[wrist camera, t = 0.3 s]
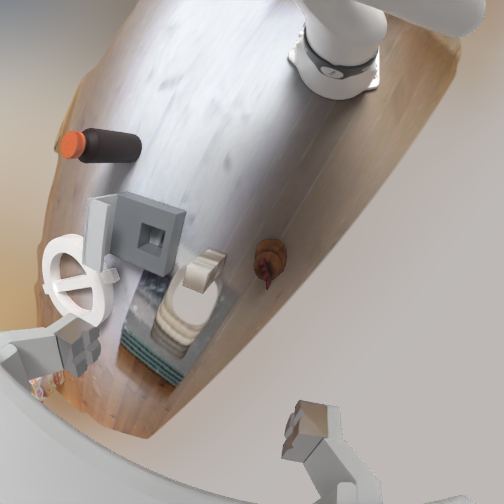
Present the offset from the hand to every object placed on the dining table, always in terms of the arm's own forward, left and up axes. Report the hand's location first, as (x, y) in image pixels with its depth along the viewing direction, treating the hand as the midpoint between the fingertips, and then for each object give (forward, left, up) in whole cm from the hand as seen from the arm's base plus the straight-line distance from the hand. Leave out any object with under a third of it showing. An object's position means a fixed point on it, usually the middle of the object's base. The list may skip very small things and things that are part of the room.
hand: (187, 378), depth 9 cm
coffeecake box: (+88, -67, -47) cm, 120 cm away
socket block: (+13, -27, -47) cm, 56 cm away
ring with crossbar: (+36, -49, -47) cm, 77 cm away
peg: (+14, -10, -47) cm, 50 cm away
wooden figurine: (+8, +1, -47) cm, 47 cm away
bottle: (-4, -37, -47) cm, 60 cm away
